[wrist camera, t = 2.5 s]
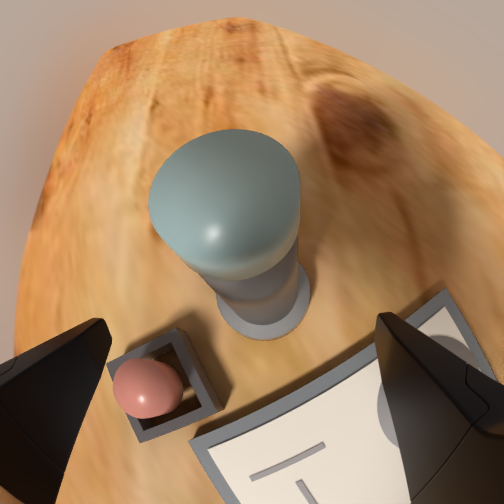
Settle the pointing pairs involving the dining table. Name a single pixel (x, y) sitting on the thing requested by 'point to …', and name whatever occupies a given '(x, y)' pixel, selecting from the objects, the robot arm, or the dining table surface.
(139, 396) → the button
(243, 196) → the grey tall round-topped cylinder
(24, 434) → the robot arm
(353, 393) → the drawing board
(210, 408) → the button housing
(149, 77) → the dining table surface
